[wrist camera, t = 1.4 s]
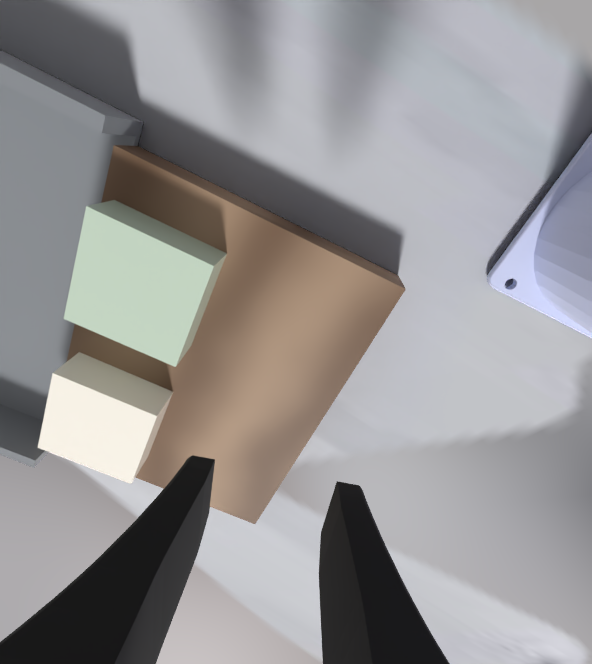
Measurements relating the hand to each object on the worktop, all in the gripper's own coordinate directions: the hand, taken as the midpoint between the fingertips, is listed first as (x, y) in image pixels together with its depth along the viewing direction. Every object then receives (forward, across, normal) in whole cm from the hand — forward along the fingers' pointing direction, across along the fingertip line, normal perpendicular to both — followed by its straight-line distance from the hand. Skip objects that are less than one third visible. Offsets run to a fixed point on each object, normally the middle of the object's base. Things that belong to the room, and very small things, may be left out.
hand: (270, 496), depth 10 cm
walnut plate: (+10, +4, +2) cm, 12 cm away
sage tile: (+8, +7, -2) cm, 11 cm away
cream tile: (+9, +9, +5) cm, 13 cm away
